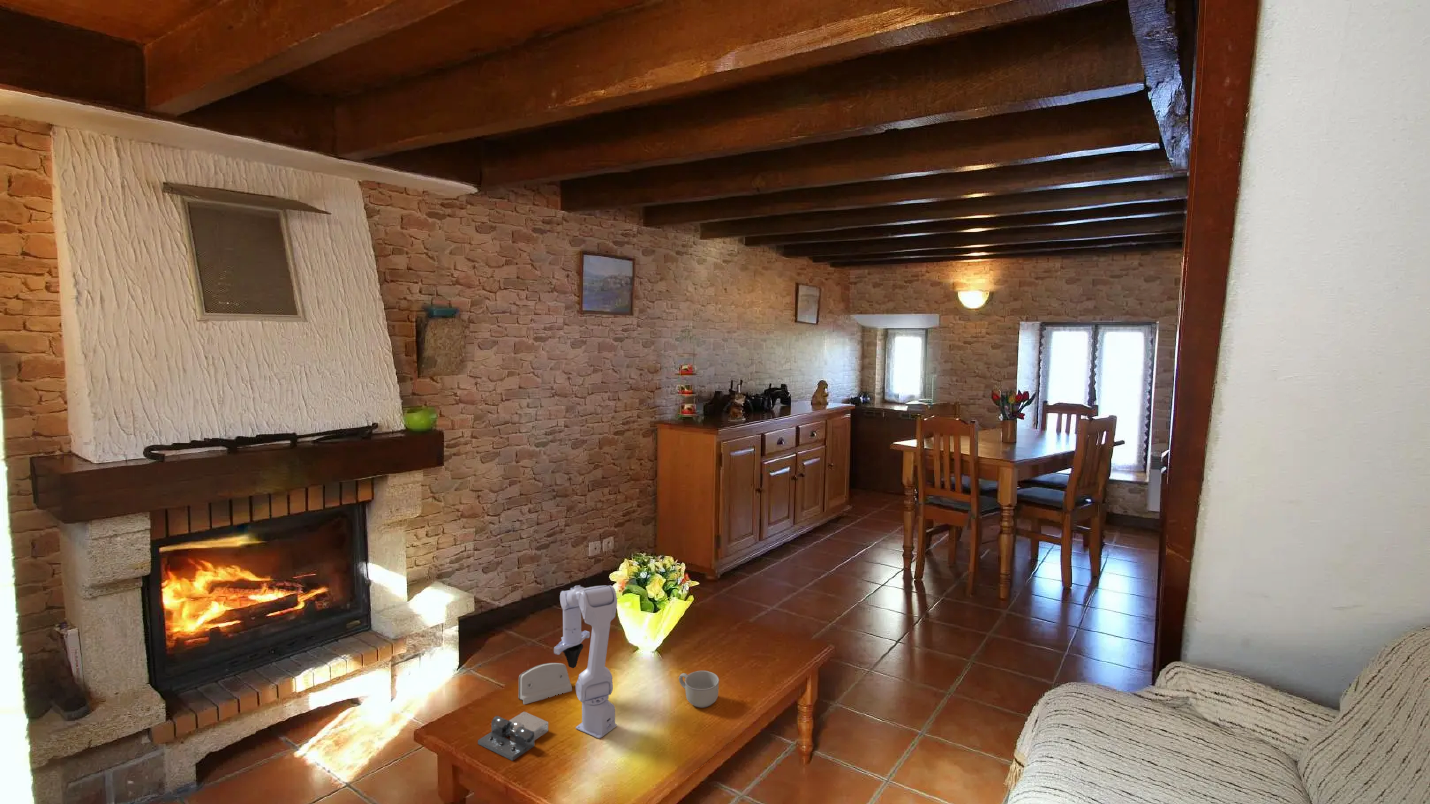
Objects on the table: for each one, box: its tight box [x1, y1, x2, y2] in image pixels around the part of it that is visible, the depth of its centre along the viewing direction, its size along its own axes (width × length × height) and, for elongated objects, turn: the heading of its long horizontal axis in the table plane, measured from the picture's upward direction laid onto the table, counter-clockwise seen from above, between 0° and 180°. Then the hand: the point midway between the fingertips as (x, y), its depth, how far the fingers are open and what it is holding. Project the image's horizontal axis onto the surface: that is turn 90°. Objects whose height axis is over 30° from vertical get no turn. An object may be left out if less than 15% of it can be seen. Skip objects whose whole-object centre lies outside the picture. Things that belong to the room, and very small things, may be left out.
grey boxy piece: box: [508, 711, 549, 742], centre depth 205 cm, size 10×9×5 cm
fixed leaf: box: [477, 715, 535, 762], centre depth 199 cm, size 14×8×5 cm, turn 59°
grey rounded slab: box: [518, 662, 573, 705], centre depth 228 cm, size 17×5×10 cm, turn 123°
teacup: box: [678, 670, 720, 709], centre depth 224 cm, size 14×11×8 cm
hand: (572, 666), depth 226 cm, fingers closed
